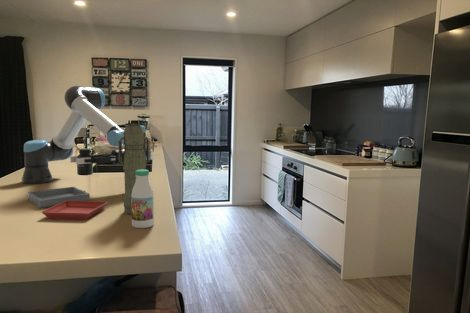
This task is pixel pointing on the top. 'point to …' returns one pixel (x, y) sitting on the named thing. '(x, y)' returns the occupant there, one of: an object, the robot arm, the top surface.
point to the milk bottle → (142, 201)
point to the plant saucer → (74, 210)
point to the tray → (57, 196)
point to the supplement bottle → (84, 168)
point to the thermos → (132, 159)
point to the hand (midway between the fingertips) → (73, 160)
